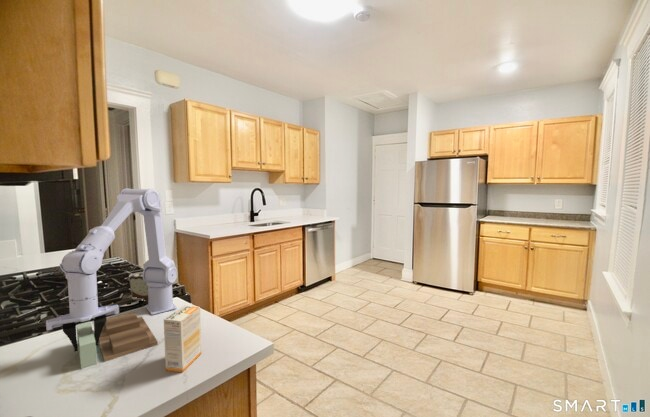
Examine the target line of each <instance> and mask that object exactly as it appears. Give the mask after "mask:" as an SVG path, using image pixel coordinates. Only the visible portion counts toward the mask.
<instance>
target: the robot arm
mask: <svg viewBox="0 0 650 417" xmlns="http://www.w3.org/2000/svg"><path fill="white" fill-rule="evenodd" d="M161 200H162V199H161V194H160V193H159V192H158V191H157V190H155V189H154V188H148V189H147V188H143V189H142V188H127V187H126V188H124V189H121V191H120V193H119V194H118V195H116V203H115V205H114V206H113V208H112V209H111V211H110V212H109V214H107V217H106V218H105V219H104V221H103V222H102V224H101V225H99V226H95V227H93V228H91V229H89V230H88V234H87V235H86V236H85V238H83V239H82V241H81V242H80V243H79V244H78V245H77V247H76V248H75V250H71V251H69V252H67V253H66V254H65V255H64V256H63V258H62V259H61V263H59V268H60V270H61V271H62V272H63V273H64V274H65V279H66V280H67V287H68V289H67V290H68V291H67V292H68V303H69V305H68V306H69V313H67V314H64V315H61V316H57V317H54V318H50V319H46V320H45V326H46V331H52V330H53V329H55V328H59V327H62V332H63V333H64V334H65V335H66V337H67V338H68V339H69V340H70V343H71V345H72V346H73V351H74V352H75V353H76V352H79V350H78V341H77V323H79V322H80V323H85V322H89V321H91V320H93V334H94V337H95V341H96V347H97V346H99V338H100V334H101V332H102V329H103V327H104V325H105V323H106V321H107V319H108V318H107V316H110V315H119V314H120V307H119V305H118V304H114V305H106V306H100V307H99V299H98V298H99V297H98V283H97V282H98V280H97V271H99V269H100V268H101V267H102V265H103V258H104V257H105V256H104V255H105V252H106V251H107V250H108V248H109V247H110V246H111V244H112V243H113V242H114V240H115V239H116V235H115V232H116V230H117V229H118V228H119V227H120V226H121V225H122V223H123V222H125V221H126V219H127V218H128V217H129V216H130V215H131V214H132V213H139V214H141V215H142V216H143V223H144V230H145V240H146V247H147V256H148V259H147V261H145V263H144V264H143V265H142V266H143V271H142V272H143V275H142V276H143V280H144V282H146V283H147V286H149V287H148V302H147V304H146V305H144V306H145V308H146V309H147V311H148V312H149V314H150V316H151V315H153V316H154V315H157V314H160V313H161V314H162V313H164V312H169V311H172V310H176V309H177V306H176V305H175V304H174V303H173V300H174V299H173V284H174V283H175V281H176V280H177V277H178V270H177V267H176V264H175V261H174V260H173V259H171V258H170V257H168V256H167V250H166V241H165V233H164V232H165V230H164V222H163V215H162V203H161Z"/></svg>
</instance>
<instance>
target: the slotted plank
mask: <svg viewBox="0 0 650 417" xmlns="http://www.w3.org/2000/svg"><path fill="white" fill-rule="evenodd" d="M98 345H99V347H100V348H99V349H100V351H101V354H102V358H103V362H108V361H112V360H114V359H117V358H120V357H123V356H126V355H130V354H132V353H133V354H134V353H136V352H139V351H142V350H145V349H149V348H151V347H155V346H158V340H157V338H156V337H155V335H154V332H152V330H151V329H150V327H149V325H148V324H147V323H146V321H145V319H144V318H143V316H137V314H136V313H135V312H131V313H126V314H122V315H118V316H114V317H113V316H112V317H110V318H107V321H106V323H105V325H104V327H103V329H102V332H101V334H100V338H99V342H98Z"/></svg>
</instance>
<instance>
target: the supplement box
mask: <svg viewBox="0 0 650 417" xmlns="http://www.w3.org/2000/svg"><path fill="white" fill-rule="evenodd" d="M201 325H202V324H201V307H200V306H197V305H196V306H194V305H183V306H181V307H180V308H179V309H177V310H175V311H174V312H173V313H171V314H169V315H168V316H166V317H165V318H163V329H164V358H165V370H166V371H169V372H175V373H176V372H178V373H184V372H185V371H186V370H187V369H188V368H189V367H190V366H191V364H192V363H194V362H195V360H196V359H197V358H198V357H199V356H200V355H201V354H202V332H201V330H202V329H201V328H202V327H201Z"/></svg>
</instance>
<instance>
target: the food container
mask: <svg viewBox="0 0 650 417" xmlns="http://www.w3.org/2000/svg"><path fill="white" fill-rule="evenodd" d="M142 275H143V271H139V272H135V273H130V274H129V275H128V278H127V281H129V287H130V293H131V294H130V295H131V298H132V297H137V298H144V299H145V300H146V301H148V287H149V286H147V283H146V282H144V280H143V276H142Z"/></svg>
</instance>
